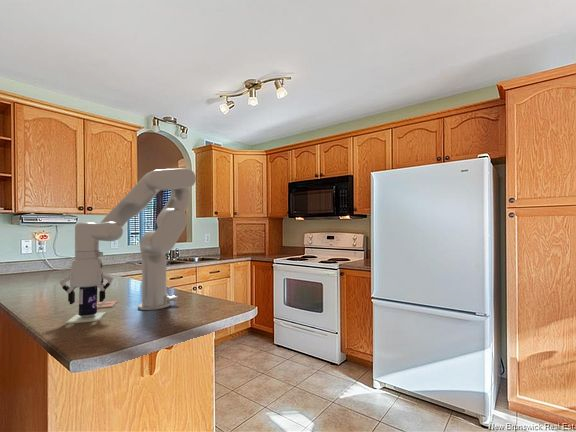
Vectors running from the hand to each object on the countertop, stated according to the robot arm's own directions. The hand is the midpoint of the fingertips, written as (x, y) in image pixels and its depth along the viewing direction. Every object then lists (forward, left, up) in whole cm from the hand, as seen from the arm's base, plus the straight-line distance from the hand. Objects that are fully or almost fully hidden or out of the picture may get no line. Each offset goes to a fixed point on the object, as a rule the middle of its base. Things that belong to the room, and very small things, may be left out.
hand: (87, 302), depth 119 cm
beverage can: (0, 0, -5) cm, 5 cm away
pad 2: (0, -20, -6) cm, 21 cm away
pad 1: (0, 0, -6) cm, 6 cm away
